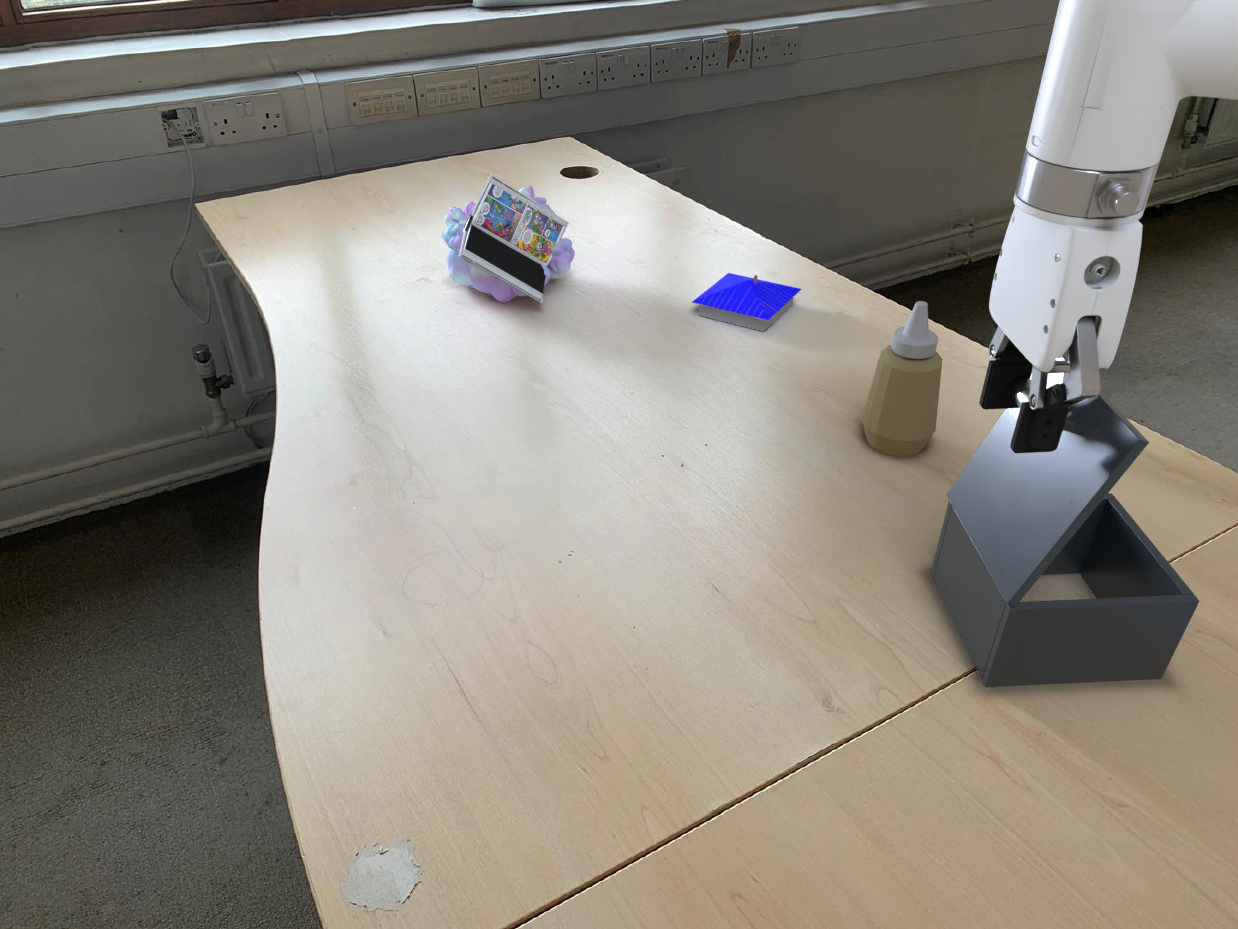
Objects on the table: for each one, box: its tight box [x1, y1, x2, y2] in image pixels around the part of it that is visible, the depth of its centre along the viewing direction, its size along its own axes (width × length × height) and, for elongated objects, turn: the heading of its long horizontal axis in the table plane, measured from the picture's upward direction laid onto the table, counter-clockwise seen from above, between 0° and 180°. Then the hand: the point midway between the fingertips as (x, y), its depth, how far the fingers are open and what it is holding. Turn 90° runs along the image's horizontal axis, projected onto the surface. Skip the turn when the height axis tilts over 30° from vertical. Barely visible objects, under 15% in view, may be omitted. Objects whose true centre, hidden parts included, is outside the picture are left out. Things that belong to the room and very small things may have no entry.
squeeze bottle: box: [861, 300, 943, 457], centre depth 98 cm, size 8×8×18 cm
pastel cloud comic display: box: [440, 173, 576, 304], centre depth 137 cm, size 20×22×18 cm
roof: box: [691, 272, 803, 332], centre depth 131 cm, size 12×12×5 cm
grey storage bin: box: [930, 492, 1200, 688], centre depth 76 cm, size 15×14×10 cm
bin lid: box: [946, 354, 1150, 606], centre depth 68 cm, size 16×14×5 cm
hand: (1016, 425), depth 66 cm, fingers closed on bin lid, 5 cm apart
